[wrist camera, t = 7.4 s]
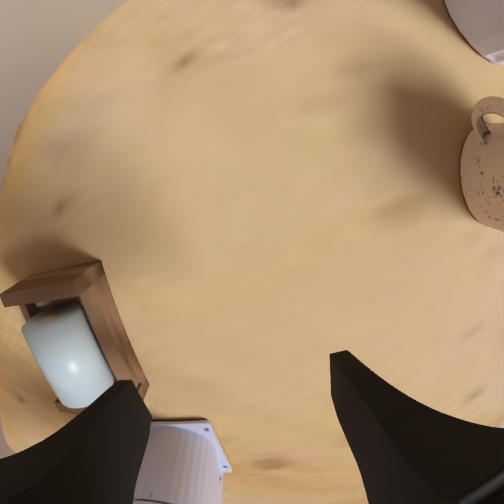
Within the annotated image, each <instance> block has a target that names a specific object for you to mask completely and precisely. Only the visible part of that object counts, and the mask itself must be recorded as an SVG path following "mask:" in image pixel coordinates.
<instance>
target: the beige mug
mask: <svg viewBox="0 0 504 504" xmlns="http://www.w3.org/2000/svg"><path fill="white" fill-rule="evenodd" d="M489 113H493V114H498V115H500V116H502V117H504V99H503V98H500V97H494V96H490V97H485V98H483V99H481V100H480V101H478V102H477V103H476V105H475V107H474V109H473V111H472V115H471V122H472V126H473V130H472V131H471V133H470V134H469V135H468V137H467V139H466V141H465V144H464V147H463V150H462V155H461V163H460V176H461V185H462V190H463V194H464V198H465V201H466V203H467V206H468V208H469V210H470V212H471V213H472V215H473V216H474V217H475V218H476V219H477V220H478V221H479V222H480V223H481V224H483V225H485V226H488V227H491V228H494V229H497V230H500V231H503V232H504V123H494V124H485V122H484V120H483V117H482V116H483V115H485V114H489Z"/></svg>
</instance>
